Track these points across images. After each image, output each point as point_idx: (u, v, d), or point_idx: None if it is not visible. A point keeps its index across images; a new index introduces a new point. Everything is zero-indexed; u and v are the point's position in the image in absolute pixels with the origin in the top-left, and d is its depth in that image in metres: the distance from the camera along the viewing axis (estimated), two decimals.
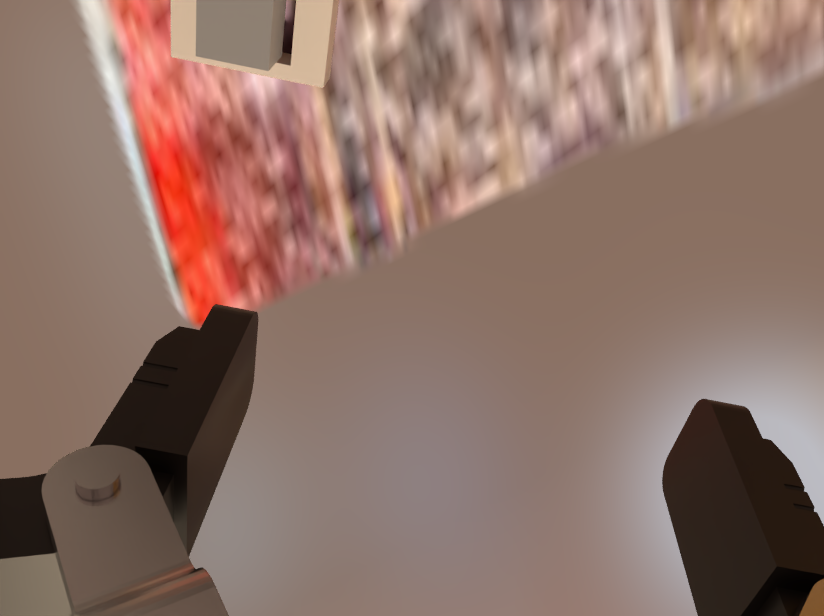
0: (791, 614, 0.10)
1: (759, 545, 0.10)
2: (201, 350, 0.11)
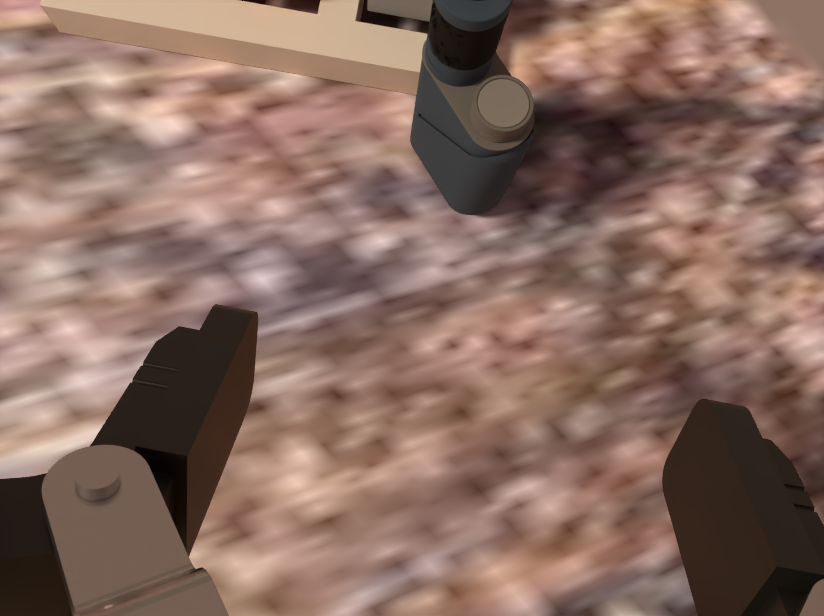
0: (791, 614, 0.10)
1: (759, 545, 0.10)
2: (201, 350, 0.11)
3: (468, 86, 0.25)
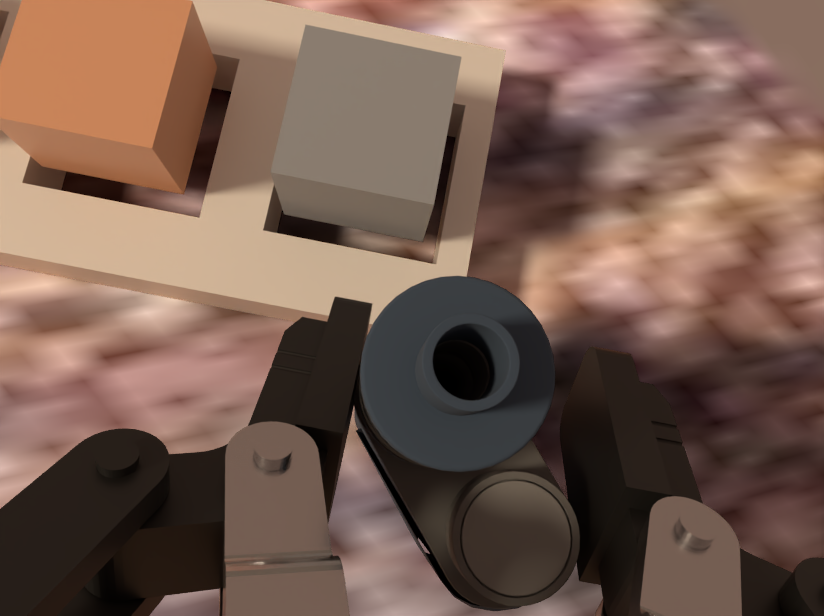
0: (638, 531, 0.10)
1: (616, 470, 0.11)
2: (333, 338, 0.12)
3: None
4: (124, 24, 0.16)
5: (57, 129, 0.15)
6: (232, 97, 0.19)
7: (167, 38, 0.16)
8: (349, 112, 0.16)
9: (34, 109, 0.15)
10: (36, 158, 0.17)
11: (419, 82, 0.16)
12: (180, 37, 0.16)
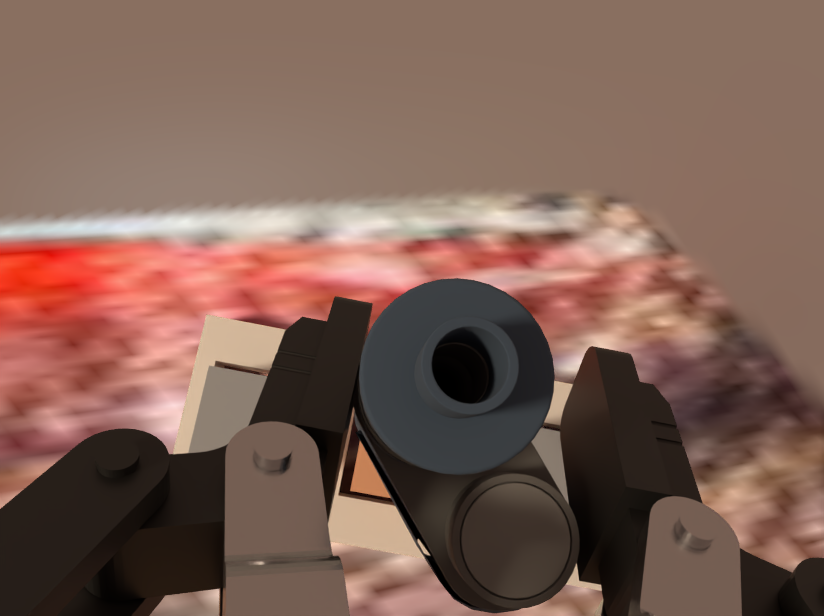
0: (638, 530, 0.10)
1: (616, 470, 0.11)
2: (333, 338, 0.12)
3: None
4: None
5: None
6: None
7: None
8: (554, 480, 0.27)
9: (377, 486, 0.26)
10: None
11: None
12: None
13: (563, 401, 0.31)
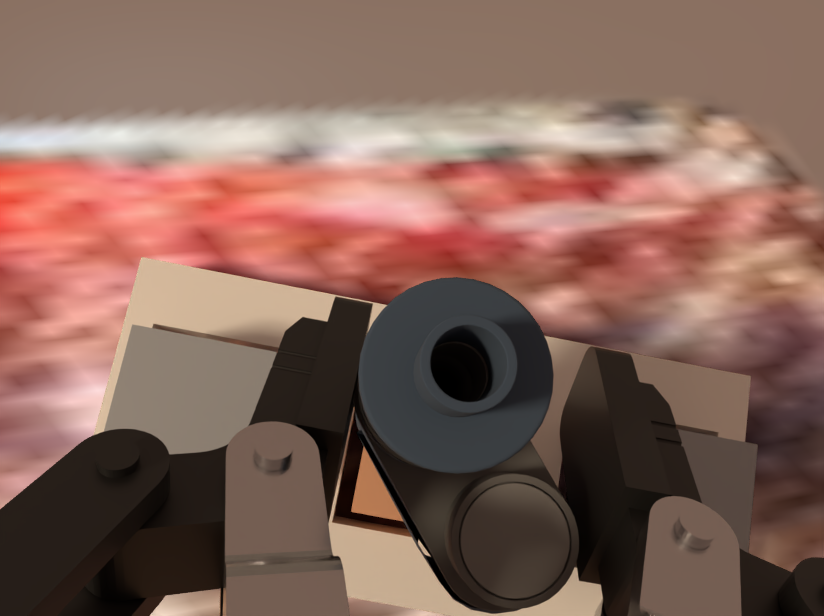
0: (638, 530, 0.10)
1: (616, 470, 0.11)
2: (334, 338, 0.12)
3: None
4: None
5: None
6: None
7: None
8: None
9: (389, 505, 0.19)
10: None
11: (723, 471, 0.18)
12: None
13: (659, 385, 0.21)
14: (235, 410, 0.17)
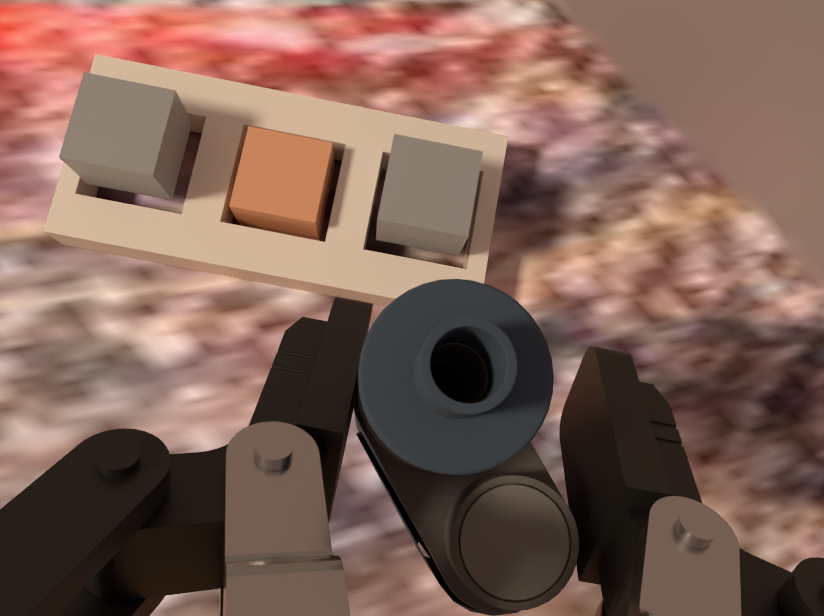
0: (638, 530, 0.10)
1: (616, 470, 0.11)
2: (333, 338, 0.12)
3: None
4: (297, 156, 0.30)
5: (266, 213, 0.29)
6: (342, 168, 0.31)
7: (320, 163, 0.30)
8: (420, 184, 0.28)
9: (254, 202, 0.29)
10: (240, 223, 0.31)
11: (459, 166, 0.28)
12: (326, 162, 0.30)
13: (445, 141, 0.31)
14: (148, 123, 0.27)
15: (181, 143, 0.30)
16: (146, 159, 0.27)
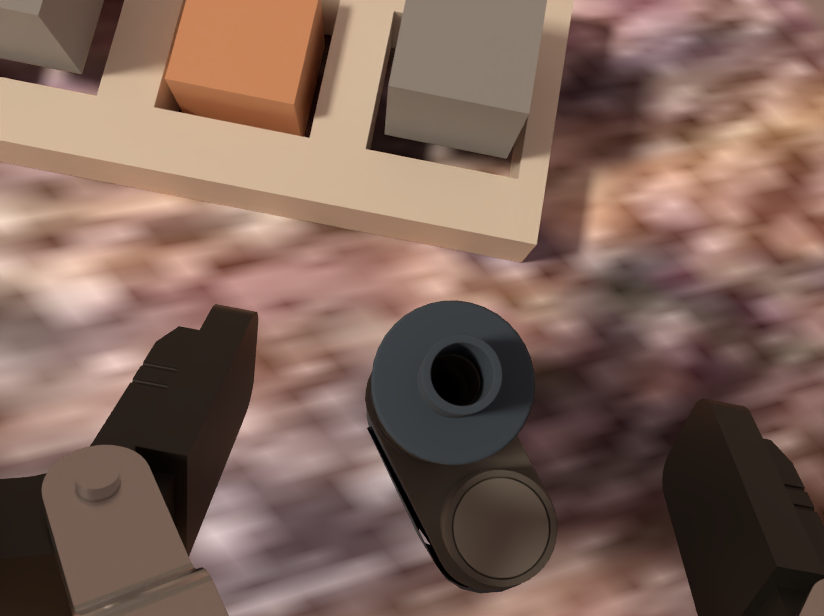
0: (791, 614, 0.10)
1: (759, 544, 0.10)
2: (201, 350, 0.11)
3: None
4: (268, 8, 0.20)
5: (220, 90, 0.19)
6: (334, 33, 0.21)
7: (302, 19, 0.20)
8: (453, 35, 0.18)
9: (203, 74, 0.20)
10: None
11: (513, 10, 0.18)
12: (312, 18, 0.20)
13: None
14: None
15: None
16: None
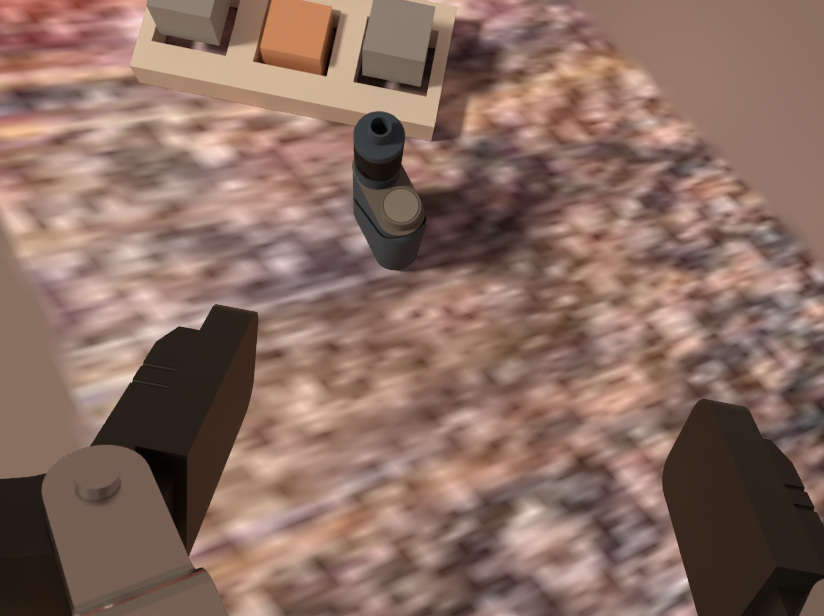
0: (791, 614, 0.10)
1: (760, 544, 0.10)
2: (201, 350, 0.11)
3: (381, 189, 0.36)
4: (307, 15, 0.42)
5: (285, 53, 0.42)
6: (338, 27, 0.44)
7: (323, 20, 0.42)
8: (392, 27, 0.40)
9: (277, 45, 0.42)
10: None
11: (419, 16, 0.41)
12: (328, 19, 0.43)
13: None
14: None
15: (226, 5, 0.42)
16: (205, 7, 0.40)
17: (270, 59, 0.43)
